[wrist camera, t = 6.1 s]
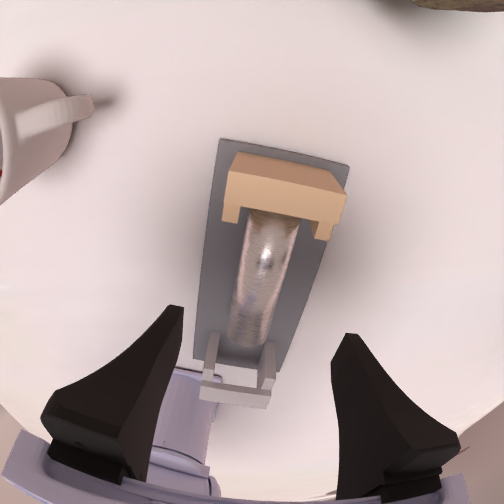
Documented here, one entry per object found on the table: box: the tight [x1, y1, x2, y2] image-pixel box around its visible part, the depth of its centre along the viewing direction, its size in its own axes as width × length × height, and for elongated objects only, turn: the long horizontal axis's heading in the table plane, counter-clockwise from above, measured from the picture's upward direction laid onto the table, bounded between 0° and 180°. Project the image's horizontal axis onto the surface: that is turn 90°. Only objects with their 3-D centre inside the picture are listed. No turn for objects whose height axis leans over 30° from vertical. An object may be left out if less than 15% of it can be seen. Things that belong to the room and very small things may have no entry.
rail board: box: [193, 139, 350, 409], centre depth 20 cm, size 19×8×5 cm, turn 170°
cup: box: [0, 77, 94, 205], centre depth 14 cm, size 11×8×8 cm
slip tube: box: [226, 208, 301, 347], centre depth 20 cm, size 11×3×3 cm, turn 170°
